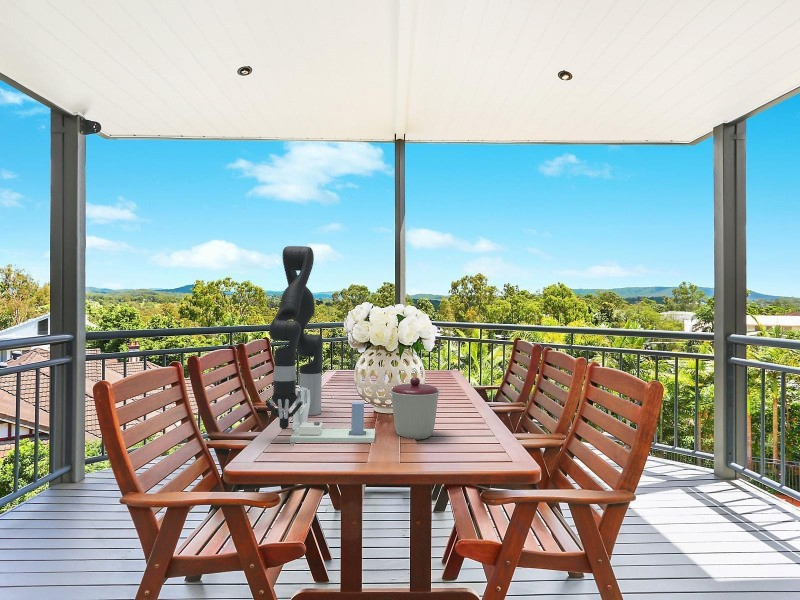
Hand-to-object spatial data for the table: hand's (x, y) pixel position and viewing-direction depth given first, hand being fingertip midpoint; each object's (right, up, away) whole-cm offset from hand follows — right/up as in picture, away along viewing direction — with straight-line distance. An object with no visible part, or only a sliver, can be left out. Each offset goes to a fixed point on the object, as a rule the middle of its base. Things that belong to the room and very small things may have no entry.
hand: (284, 428), depth 181 cm
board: (+17, -4, 0) cm, 18 cm away
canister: (+45, -5, +7) cm, 46 cm away
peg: (+25, -3, +1) cm, 25 cm away
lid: (+9, -1, 0) cm, 9 cm away
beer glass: (+3, -4, +15) cm, 16 cm away
